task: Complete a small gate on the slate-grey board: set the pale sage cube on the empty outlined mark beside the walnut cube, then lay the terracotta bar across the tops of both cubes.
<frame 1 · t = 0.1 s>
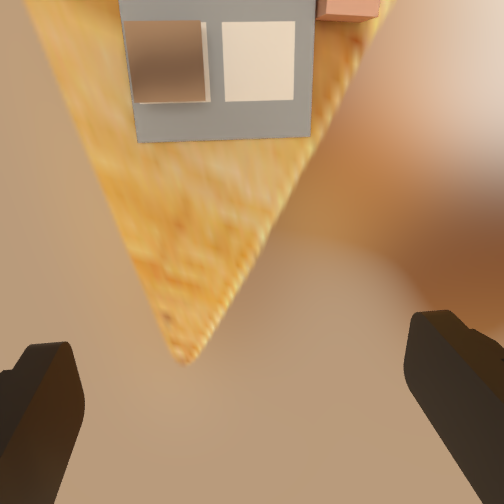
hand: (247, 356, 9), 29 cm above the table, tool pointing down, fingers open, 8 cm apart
board: (221, 63, 33), on the table
walnut cube: (172, 64, 32), point 1 cm above the table, touching board
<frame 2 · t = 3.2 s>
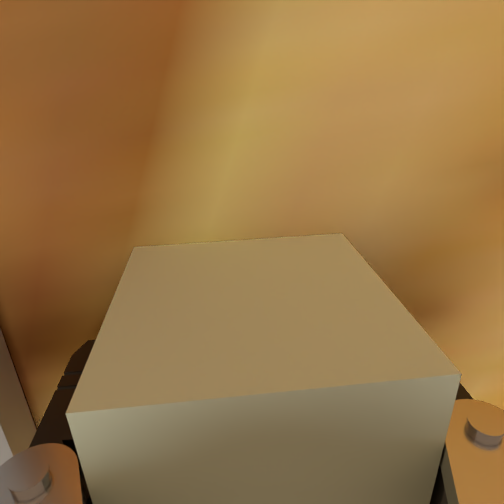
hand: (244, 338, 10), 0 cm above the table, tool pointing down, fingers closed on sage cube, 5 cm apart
sage cube: (244, 326, 11), on the table, touching gripper
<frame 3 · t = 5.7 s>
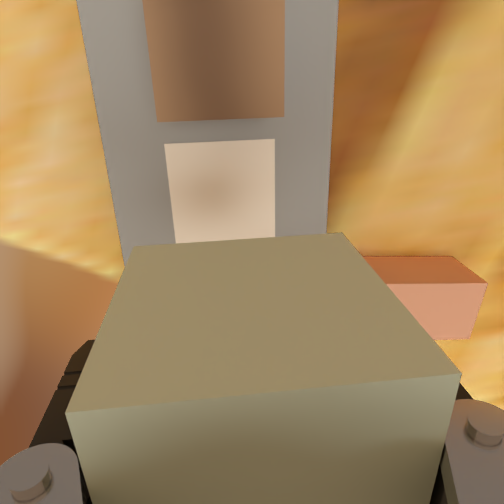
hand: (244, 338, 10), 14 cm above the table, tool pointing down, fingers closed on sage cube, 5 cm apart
board: (219, 135, 22), on the table
sage cube: (243, 326, 11), point 14 cm above the table, touching gripper
lintel: (360, 281, 27), on the table
walnut cube: (214, 54, 19), point 1 cm above the table, touching board
when the fingers open (3 cm above the table, at t = 8.1 s): sage cube stays where it is, resting on board.
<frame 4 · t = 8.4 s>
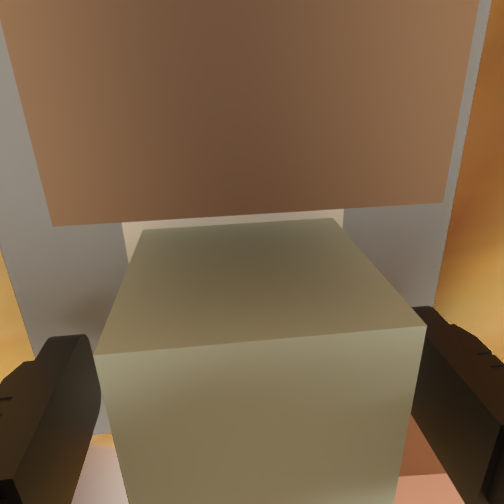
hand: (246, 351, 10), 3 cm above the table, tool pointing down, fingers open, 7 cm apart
board: (231, 193, 11), on the table
sage cube: (243, 304, 11), point 1 cm above the table, touching board
lintel: (459, 412, 17), on the table
walnut cube: (226, 28, 9), point 1 cm above the table, touching board
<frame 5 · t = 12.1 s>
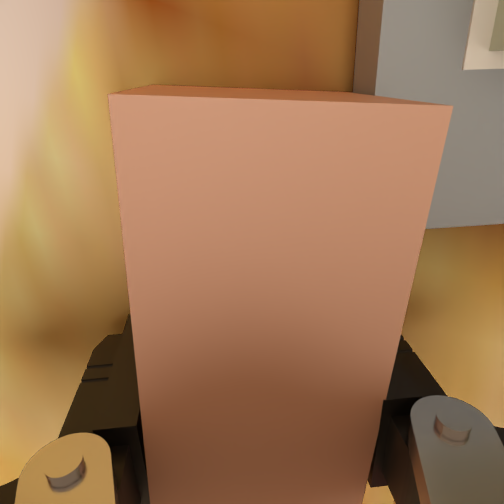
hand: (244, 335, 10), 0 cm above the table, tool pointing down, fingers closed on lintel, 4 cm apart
lintel: (243, 330, 11), on the table, touching gripper
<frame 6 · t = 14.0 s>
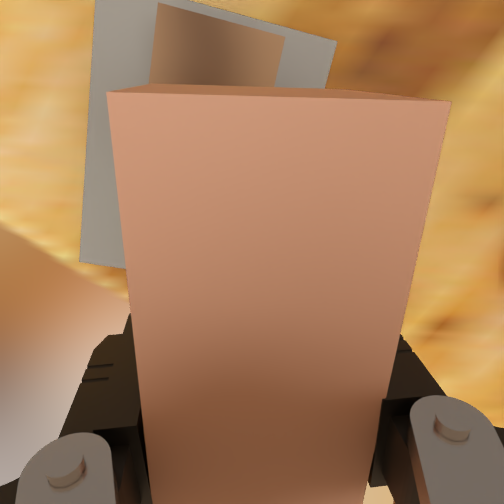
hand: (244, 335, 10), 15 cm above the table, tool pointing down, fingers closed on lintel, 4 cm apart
board: (198, 156, 23), on the table
lintel: (244, 329, 11), point 15 cm above the table, touching gripper
walnut cube: (211, 85, 21), point 1 cm above the table, touching board
when the fingers open (8 cm above the table, at t = 16.1 s): lintel stays where it is, resting on sage cube, walnut cube.
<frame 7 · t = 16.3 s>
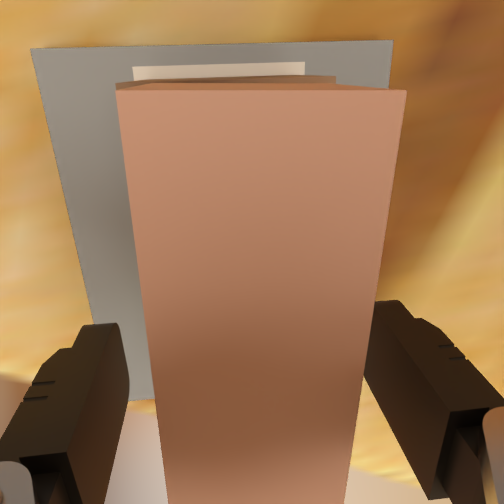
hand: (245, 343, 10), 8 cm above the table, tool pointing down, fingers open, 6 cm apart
board: (228, 239, 17), on the table
lintel: (243, 308, 11), point 6 cm above the table, touching sage cube, walnut cube
walnut cube: (224, 151, 15), point 1 cm above the table, touching board, lintel
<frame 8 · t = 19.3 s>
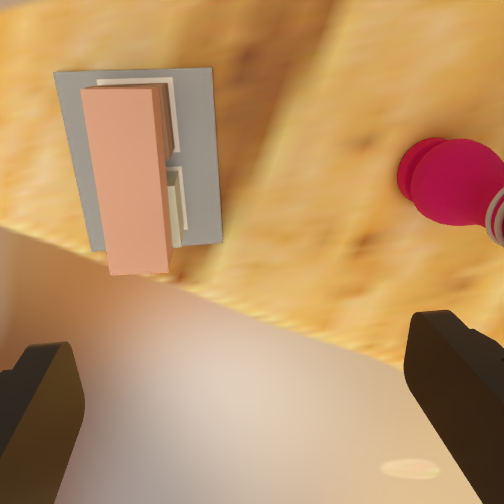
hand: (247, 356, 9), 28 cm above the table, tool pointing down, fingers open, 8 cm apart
board: (148, 163, 35), on the table
sage cube: (152, 200, 35), point 1 cm above the table, touching board, lintel
pepper mill: (427, 170, 38), on the table
lintel: (138, 175, 29), point 6 cm above the table, touching sage cube, walnut cube
walnut cube: (140, 117, 32), point 1 cm above the table, touching board, lintel
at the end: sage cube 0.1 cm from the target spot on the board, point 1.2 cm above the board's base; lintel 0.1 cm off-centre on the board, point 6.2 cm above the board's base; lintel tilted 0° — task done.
